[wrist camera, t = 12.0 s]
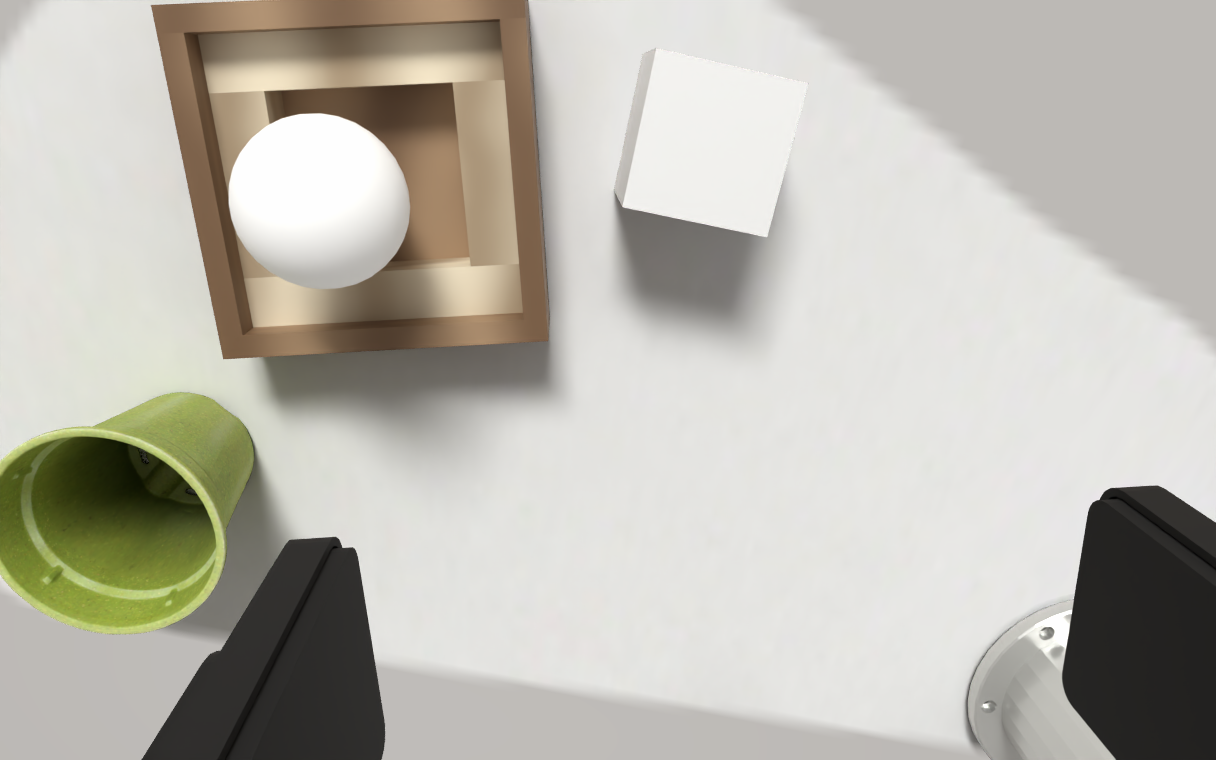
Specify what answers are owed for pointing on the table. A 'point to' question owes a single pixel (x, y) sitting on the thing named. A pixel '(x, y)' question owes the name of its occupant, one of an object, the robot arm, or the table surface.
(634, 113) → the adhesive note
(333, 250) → the lightbulb
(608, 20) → the table surface
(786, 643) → the table surface
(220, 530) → the plant pot
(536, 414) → the table surface
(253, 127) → the socket box
